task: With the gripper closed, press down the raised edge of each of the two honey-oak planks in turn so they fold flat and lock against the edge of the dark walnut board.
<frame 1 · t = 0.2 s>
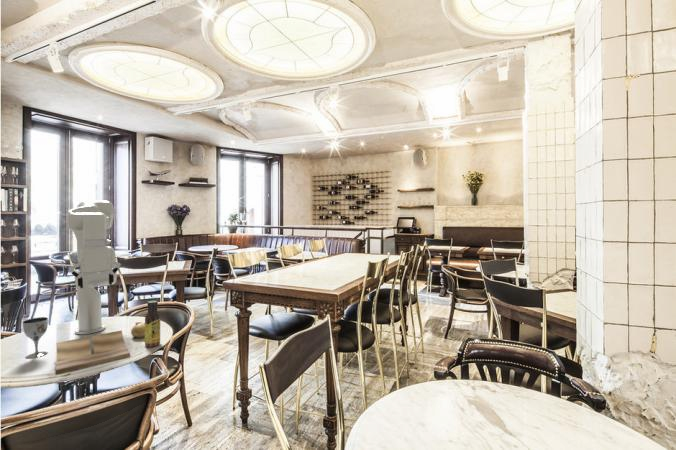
hand: (96, 285, 138), 30 cm above the table, tool pointing down, fingers open, 9 cm apart
wine glass: (36, 355, 144), on the table
oak plank 1: (73, 349, 141), point 3 cm above the table, hinge at 30.0°
walnut board: (94, 360, 138), on the table
sauce bottle: (152, 345, 154), on the table
onion: (140, 336, 165), on the table
oak plank 2: (108, 342, 149), point 3 cm above the table, hinge at 30.0°
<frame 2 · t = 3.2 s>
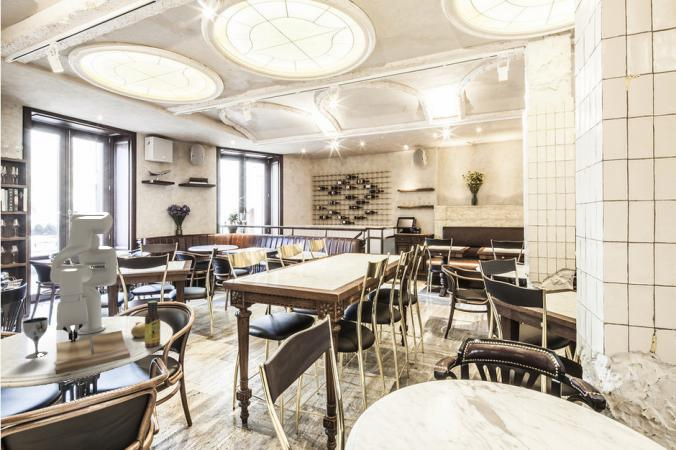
hand: (73, 340, 144), 6 cm above the table, tool pointing down, fingers closed
oak plank 1: (73, 349, 141), point 3 cm above the table, hinge at 28.4°, touching gripper
everything else where it was.
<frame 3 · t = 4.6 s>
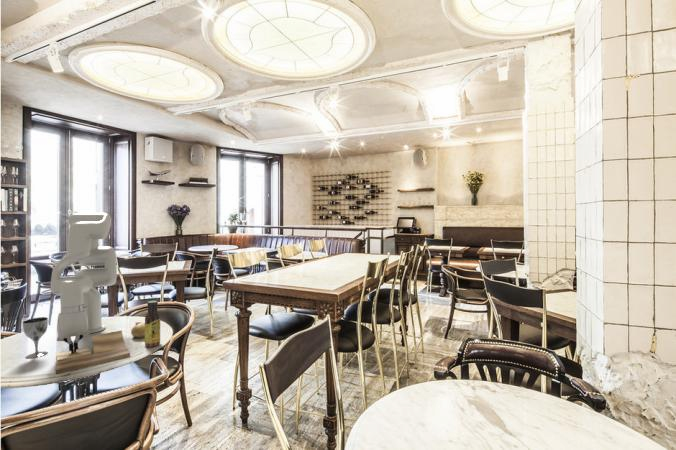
hand: (73, 351, 144), 1 cm above the table, tool pointing down, fingers closed
oak plank 1: (74, 355, 142), point 1 cm above the table, hinge at -2.8°
everything else where it was.
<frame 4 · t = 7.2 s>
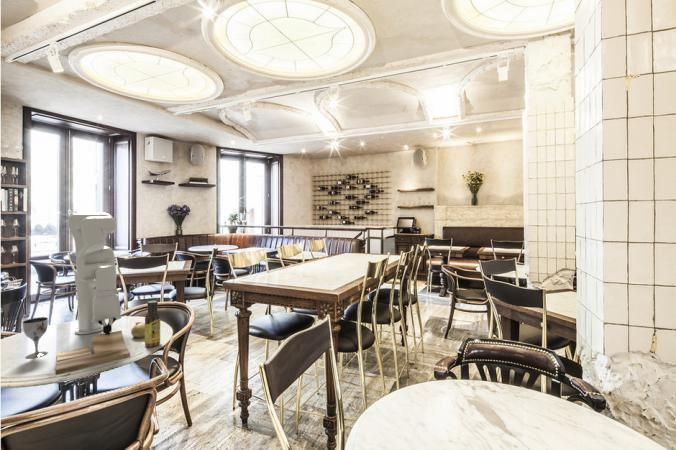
hand: (107, 333, 151), 6 cm above the table, tool pointing down, fingers closed
oak plank 2: (108, 342, 149), point 3 cm above the table, hinge at 29.9°, touching gripper
everything else where it was.
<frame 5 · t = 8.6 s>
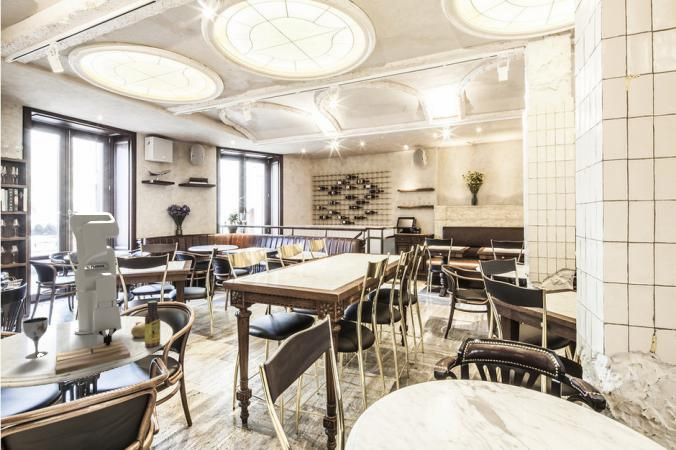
hand: (107, 344, 152), 1 cm above the table, tool pointing down, fingers closed
oak plank 2: (108, 347, 150), point 1 cm above the table, hinge at -2.8°
everything else where it was.
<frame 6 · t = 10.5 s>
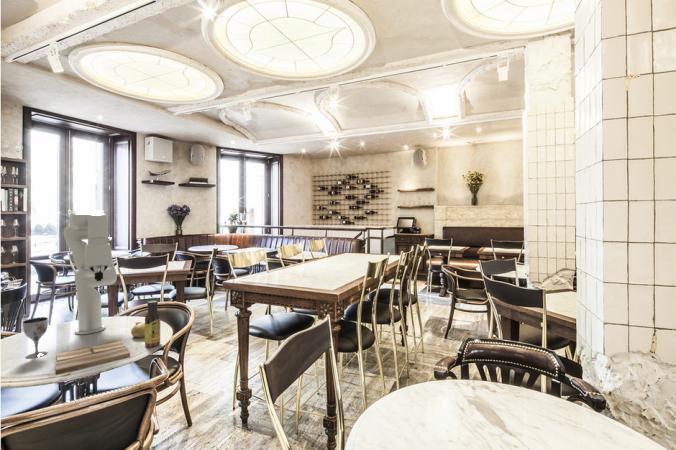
hand: (98, 280, 156), 29 cm above the table, tool pointing down, fingers closed
nothing on the table moved.
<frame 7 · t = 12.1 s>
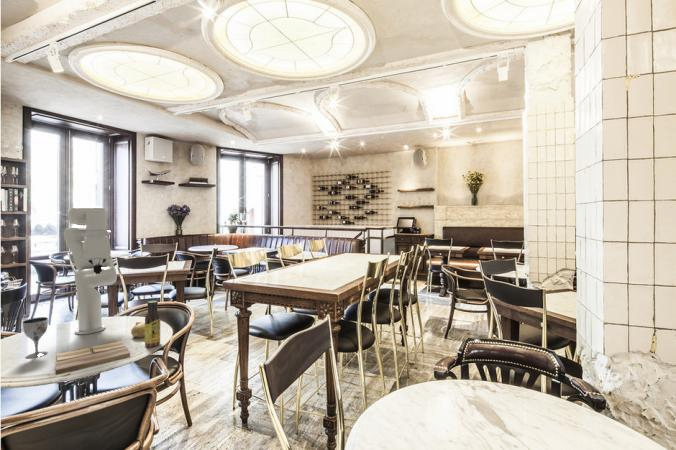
hand: (97, 273, 156), 32 cm above the table, tool pointing down, fingers closed
nothing on the table moved.
at the end: oak plank 1 at -3° (first picture: +30°); oak plank 2 at -3° (first picture: +30°); oak plank 2 touching table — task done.
